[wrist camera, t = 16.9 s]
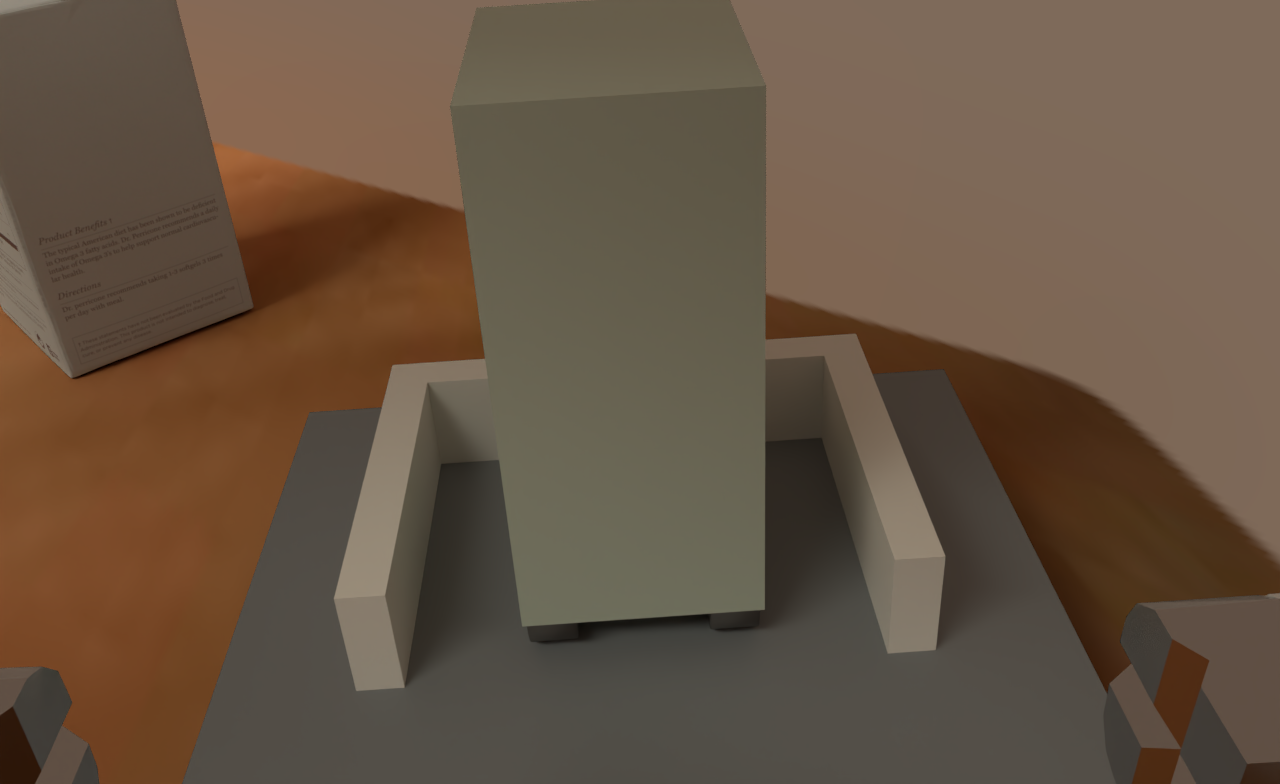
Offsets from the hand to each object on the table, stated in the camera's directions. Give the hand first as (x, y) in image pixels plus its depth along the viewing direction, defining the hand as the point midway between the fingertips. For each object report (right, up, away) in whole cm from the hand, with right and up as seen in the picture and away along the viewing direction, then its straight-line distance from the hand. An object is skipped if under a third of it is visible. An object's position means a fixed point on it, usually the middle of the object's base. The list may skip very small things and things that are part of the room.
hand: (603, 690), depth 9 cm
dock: (0, -4, +20) cm, 20 cm away
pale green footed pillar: (0, -2, +19) cm, 19 cm away
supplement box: (-19, +5, +38) cm, 43 cm away
